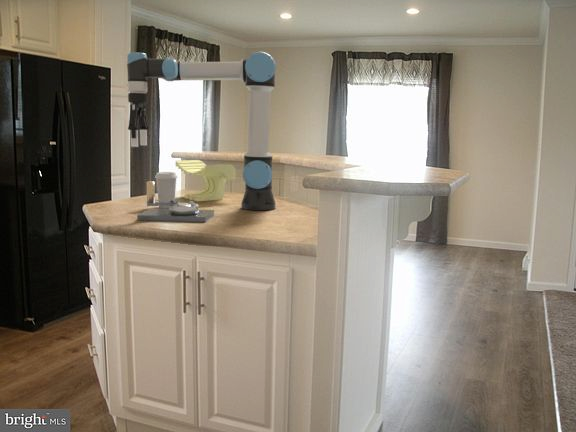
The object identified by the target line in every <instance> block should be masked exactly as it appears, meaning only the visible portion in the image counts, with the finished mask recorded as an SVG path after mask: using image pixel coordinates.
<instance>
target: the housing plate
mask: <svg viewBox="0 0 576 432" xmlns="http://www.w3.org/2000/svg"><path fill="white" fill-rule="evenodd" d="M214 215H215V210H214V209H199V212H198V213H197V214H191V215H176V214H171V213H170V208H149V209H146V210H145V211H142V212H140V213H139V214H137V216H136V217H137V220H139V222H141V221H146V222H151V221H152V222H176V223H177V222H178V223H181V222H182V223H183V222H184V223H207V222H208V221H209V220H210V219H211V218H212V217H213V216H214ZM137 220H136V221H137Z"/></svg>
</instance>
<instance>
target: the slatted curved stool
mask: <svg viewBox="0 0 576 432" xmlns="http://www.w3.org/2000/svg"><path fill="white" fill-rule="evenodd" d="M175 167H178V169H179V170H180V171H181V172H183V174H187V175H192V176H197V177H198V176H201V177H202V178H203V180H204V182H205V188H204V189H203V190H202V191H199V192H196V193H195V192H194V193H188V194H187V193H186V194H185V195H184V197H183V199H186V200H190V201H194V202H206V201H207V202H209V201H217V200H219V201H221V200H222V199H223V198H224V196H225V192H226V185H227V181H236V180H237V179H236V177H237V176H236V175H237V170H236V168H235V166H234V164H232V163H231V164H230V163H227V164H226V163H225V164H223V163H220V164H206V163H205V162H204V161H202V160H200V159H187V160H185V159H184V160H183V159H182V160H175Z"/></svg>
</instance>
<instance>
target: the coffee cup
mask: <svg viewBox="0 0 576 432" xmlns="http://www.w3.org/2000/svg"><path fill="white" fill-rule="evenodd" d="M154 178H155V181H156V190H157V202H170V201H171V200H174V202H176V189H177V188H176V185H177V178H178V175H177V174H176V172H171V171H170V172H169V171H163V172H161V171H160V172H156V175H155V176H154ZM158 207H160V208H159V209H170V206H158Z"/></svg>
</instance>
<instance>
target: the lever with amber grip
mask: <svg viewBox="0 0 576 432" xmlns="http://www.w3.org/2000/svg"><path fill="white" fill-rule="evenodd" d="M155 186H156V185H155V181H153V180H151V181H150V180H149V181H146V207H159V206H170V208H169V209H170V213H171V214H176V215H191V214H197V213H198V212H199V210H200V209H199V204H198V203H195V201H194V200H190V201H188V202H178V201H175V202H174V200H171V201H170V202H159V201H156V192H155V191H156V187H155Z"/></svg>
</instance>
